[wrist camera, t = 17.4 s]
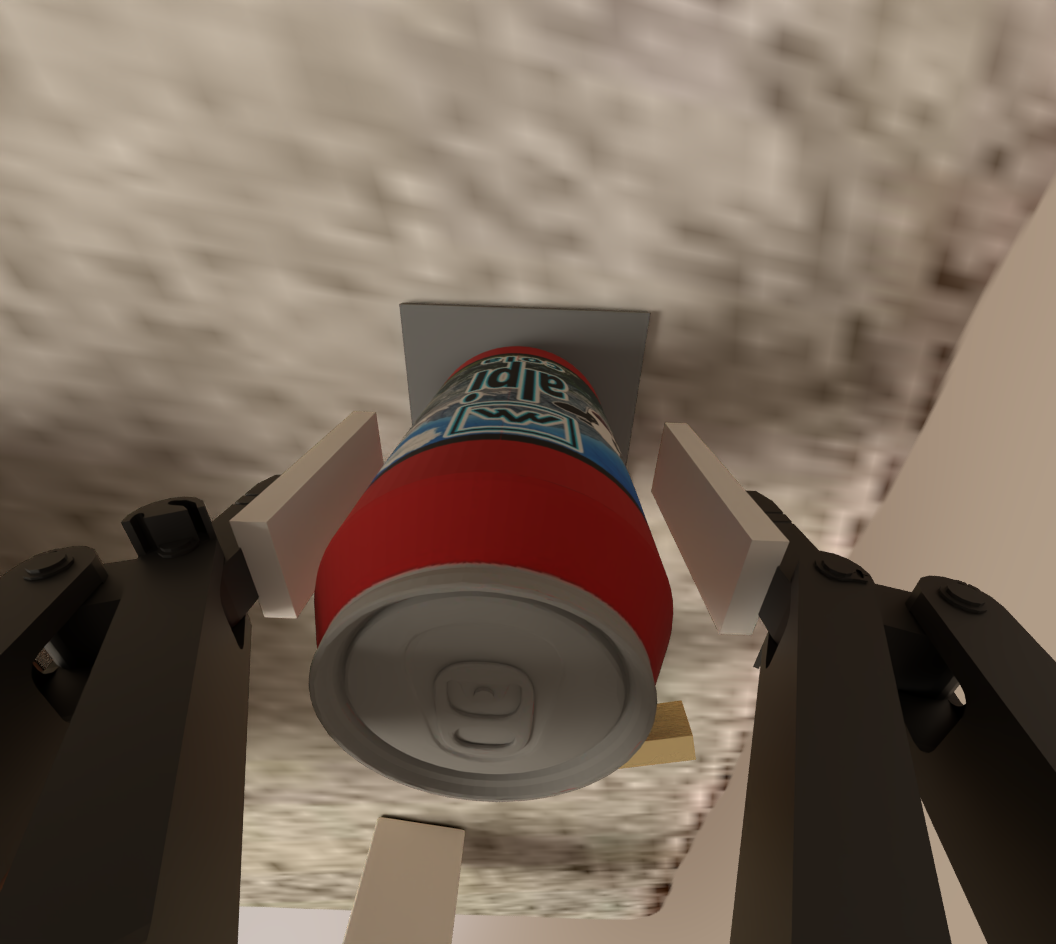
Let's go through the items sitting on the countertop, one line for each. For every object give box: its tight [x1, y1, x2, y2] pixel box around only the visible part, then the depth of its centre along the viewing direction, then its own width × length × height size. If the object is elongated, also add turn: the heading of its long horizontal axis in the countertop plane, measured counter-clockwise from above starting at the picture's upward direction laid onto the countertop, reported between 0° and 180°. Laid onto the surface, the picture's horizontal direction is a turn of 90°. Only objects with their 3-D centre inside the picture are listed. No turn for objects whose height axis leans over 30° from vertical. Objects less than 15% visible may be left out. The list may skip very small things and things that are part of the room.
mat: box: [399, 303, 650, 465], centre depth 17 cm, size 9×9×1 cm
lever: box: [619, 701, 696, 769], centre depth 19 cm, size 9×3×2 cm, turn 105°
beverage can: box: [309, 346, 673, 802], centre depth 12 cm, size 7×7×12 cm
